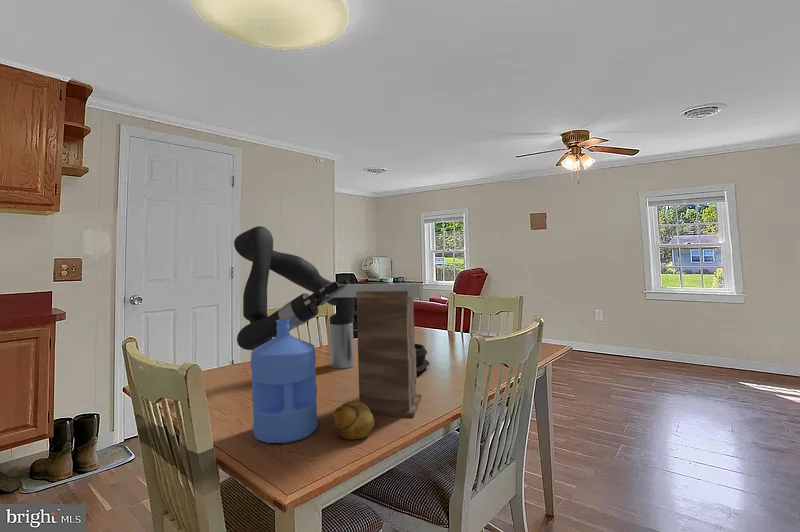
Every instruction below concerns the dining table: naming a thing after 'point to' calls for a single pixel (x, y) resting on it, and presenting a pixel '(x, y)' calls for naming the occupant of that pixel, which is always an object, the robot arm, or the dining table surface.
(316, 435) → the dining table surface
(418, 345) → the casserole
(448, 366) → the dining table surface
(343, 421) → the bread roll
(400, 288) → the steel bar
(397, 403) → the stand
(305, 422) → the water jug
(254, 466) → the dining table surface
